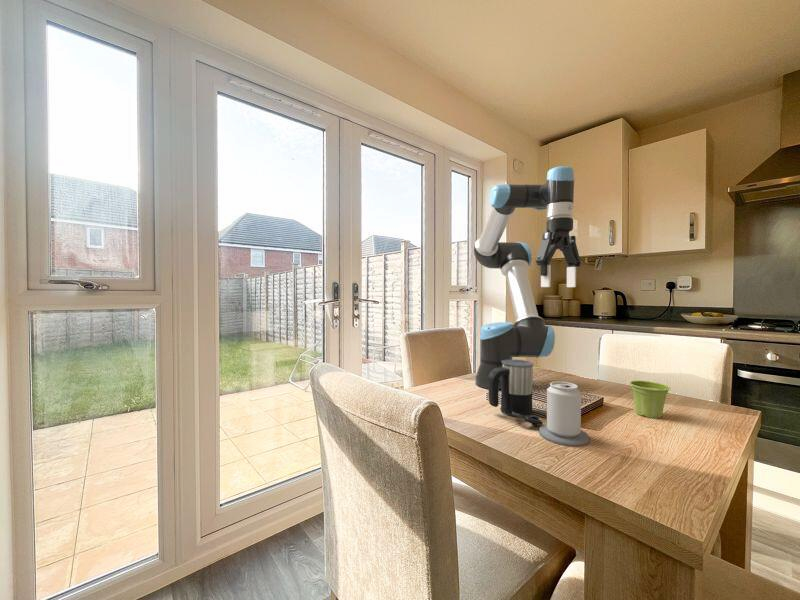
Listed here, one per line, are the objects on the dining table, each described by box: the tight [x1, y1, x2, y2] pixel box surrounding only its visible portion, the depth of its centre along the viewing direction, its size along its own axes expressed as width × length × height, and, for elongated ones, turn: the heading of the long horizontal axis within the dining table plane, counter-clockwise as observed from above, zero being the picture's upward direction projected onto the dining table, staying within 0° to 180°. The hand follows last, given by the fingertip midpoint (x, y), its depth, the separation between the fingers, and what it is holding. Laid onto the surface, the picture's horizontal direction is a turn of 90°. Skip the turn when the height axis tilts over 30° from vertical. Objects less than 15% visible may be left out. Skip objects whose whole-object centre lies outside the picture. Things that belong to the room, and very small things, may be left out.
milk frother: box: [487, 358, 544, 427], centre depth 96 cm, size 14×16×15 cm
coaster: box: [539, 423, 590, 447], centre depth 83 cm, size 11×11×1 cm
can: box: [546, 381, 582, 438], centre depth 83 cm, size 8×8×12 cm
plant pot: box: [629, 380, 671, 419], centre depth 97 cm, size 9×9×9 cm
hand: (558, 287), depth 106 cm, fingers open, 13 cm apart
